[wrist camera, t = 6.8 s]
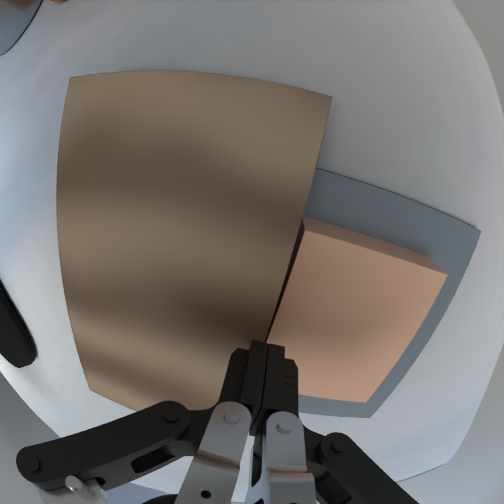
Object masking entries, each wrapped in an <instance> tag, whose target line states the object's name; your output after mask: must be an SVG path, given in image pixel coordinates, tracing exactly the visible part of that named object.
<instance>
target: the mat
mask: <svg viewBox="0 0 504 504" xmlns="http://www.w3.org/2000/svg"><path fill="white" fill-rule="evenodd" d="M303 216H306V217H309V218H312V219H316V220H319V221H323V222H326V223H329V224H333V225H336V226H339V227H342V228H346V229H349V230H352V231H355V232H358V233H361V234H365V235H368V236H371V237H374V238H377V239H380V240H383V241H386V242H389V243H392V244H395V245H398V246H401V247H403V248H406V249H409V250H412V251H415V252H418V253H420V254H423V255H426V256H428V257H429V258H430V259H431V260H433V261H434V262H435V263H436V264H437V265H438V266H439V267H440V268H441V269H442V270H443V271H444V272H445V273H446V274H447V277H446V280H445V282H444V284H443V286H442V288H441V290H440V292H439V293H438V295H437V297H436V299H435V301H434V303H433V305H432V307H431V308H430V310H429V312H428V314H427V315H426V317H425V319H424V321H423V322H422V324H421V326H420V327H419V329H418V331H417V332H416V334H415V335H414V337H413V339H412V340H411V342H410V343H409V345H408V346H407V348H406V349H405V351H404V352H403V354H402V355H401V357H400V358H399V360H398V361H397V362H396V364H395V365H394V367H393V368H392V369H391V371H390V372H389V374H388V375H387V376H386V378H385V379H384V380H383V382H382V383H381V384H380V385H379V387H378V388H377V389H376V390H375V392H374V393H373V394H372V395H371V397H370V398H369V399H368V400H367V401H366V403H364V402H353V401H343V400H335V399H327V398H319V397H313V396H306V395H300V394H298V412H301V413H309V414H318V415H328V416H340V417H357V418H370V417H371V416H372V415H373V414H374V413H375V412H376V411H377V410H378V408H379V407H380V406H381V405H382V404H383V402H384V401H385V400H386V399H387V398H388V396H389V395H390V394H391V393H392V391H393V390H394V389H395V388H396V386H397V385H398V384H399V382H400V381H401V380H402V378H403V377H404V376H405V374H406V373H407V372H408V370H409V369H410V367H411V366H412V365H413V363H414V362H415V360H416V359H417V357H418V356H419V354H420V353H421V351H422V350H423V348H424V347H425V345H426V344H427V342H428V341H429V339H430V337H431V336H432V334H433V332H434V331H435V329H436V327H437V326H438V324H439V322H440V320H441V319H442V317H443V315H444V313H445V312H446V310H447V308H448V306H449V304H450V302H451V300H452V298H453V296H454V294H455V292H456V290H457V288H458V286H459V284H460V282H461V280H462V278H463V275H464V273H465V271H466V269H467V266H468V264H469V262H470V259H471V257H472V254H473V252H474V249H475V247H476V244H477V242H478V239H479V236H480V233H481V231H480V230H479V229H477V228H475V227H473V226H471V225H469V224H467V223H465V222H462V221H460V220H458V219H456V218H454V217H451V216H449V215H447V214H445V213H442V212H440V211H438V210H435V209H433V208H431V207H428V206H426V205H423V204H421V203H418V202H416V201H413V200H411V199H408V198H405V197H403V196H400V195H397V194H395V193H392V192H389V191H386V190H384V189H381V188H378V187H375V186H372V185H369V184H366V183H363V182H360V181H357V180H354V179H351V178H347V177H344V176H341V175H338V174H334V173H331V172H327V171H324V170H320V169H317V168H315V171H314V175H313V179H312V183H311V186H310V190H309V194H308V198H307V202H306V205H305V209H304V213H303Z"/></svg>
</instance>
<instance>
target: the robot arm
mask: <svg viewBox="0 0 504 504" xmlns="http://www.w3.org/2000/svg"><path fill="white" fill-rule="evenodd" d="M40 2H41V0H0V55H2V54H4V53H5V52H6V51H7V50H8V49H10V48H11V47H12V45H13V44H14V43H15V42H16V41H17V39H18V38H19V37H20V35H21V34H22V33H23V31H24V30H25V28H26V27H27V25H28V24H29V22H30V20H31V19H32V17H33V16H34V14H35V12H36V10H37V8H38V6H39V5H40ZM249 430H250V431H249ZM248 432H249V435H250V436H255V440H254V445H253V447H252V449H251V454H250V470H249V486H248V491H247V494H246V498H245V504H316V500H317V501H318V502H319V503H320V504H419V503H417V501H415V500H414V499H413V498H412V497H411V496H410V495H409V494H408V493H406V492H405V491H404V490H403V489H402V488H401V487H400V486H399V485H398V484H397V483H396V482H394V481H393V480H392V479H391V478H390V477H389V476H388V475H387V474H386V473H385V472H384V471H383V470H382V469H381V468H380V467H379V466H378V465H377V464H376V463H375V462H374V461H373V460H372V459H370V458H369V457H368V456H367V455H366V454H365V453H364V452H363V451H362V450H361V449H360V448H359V447H358V446H357V445H356V444H355V442H354V441H353V440H352V439H351V438H349V437H348V436H347V435H345V434H343V433H338V432H334V433H330V434H328V435H326V436H324V435H321V434H318V433H316V432H313V431H311V430H309V429H308V428H306V427H305V426H304V425H303V424H302V422H301V420H300V419H299V414H298V367H297V365H296V363H295V361H294V360H293V359H288V358H285V346H280V345H276V344H271V343H269V344H268V343H266V342H262V341H257V340H253V339H252V340H251V344H250V347H249V350H246V349H242V348H237V349H236V350H235V351H234V352H233V353H232V354H231V356H230V360H229V364H228V367H227V371H226V375H225V378H224V382H223V386H222V390H221V393H220V397H219V400H218V402H217V403H216V404H215V405H214V406H213V407H211V408H208V409H205V410H188V409H187V408H186V407H185V406H184V405H182V404H181V403H179V402H176V401H170V400H167V401H162V402H159V403H157V404H154V405H152V406H150V407H147V408H145V409H142V410H140V411H137V412H135V413H132V414H130V415H127V416H125V417H122V418H119V419H117V420H114V421H111V422H109V423H106V424H103V425H100V426H97V427H94V428H91V429H88V430H85V431H82V432H79V433H76V434H73V435H69V436H66V437H63V438H59V439H56V440H52V441H48V442H44V443H41V444H36V445H32V446H28V447H24V448H23V449H21V450H20V451H19V453H18V455H17V458H16V464H17V467H18V470H19V472H20V473H21V475H22V476H23V477H24V478H25V479H27V480H28V481H30V482H32V484H33V485H34V486H35V487H36V488H37V489H38V491H39V494H40V496H41V498H42V500H43V502H44V504H107V502H108V497H107V493H106V491H107V490H109V489H112V488H115V487H118V486H120V485H123V484H125V483H128V482H130V481H133V480H135V479H137V478H140V477H142V476H144V475H147V474H149V473H151V472H153V471H155V470H157V469H160V468H162V467H164V466H166V465H168V464H170V463H172V462H174V461H176V460H178V459H180V458H181V457H183V456H194V458H193V460H192V462H191V464H190V467H189V469H188V472H187V474H186V477H185V479H184V481H183V484H182V486H181V489H180V491H179V493H178V494H170V495H163V496H159V497H156V498H153V499H151V500H148V501H147V502H144V503H142V504H230V502H231V499H232V495H233V492H234V489H235V485H236V482H237V478H238V475H239V470H240V461H241V458H242V454H243V450H244V447H245V443H246V439H247V435H248Z"/></svg>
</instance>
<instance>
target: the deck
mask: <svg viewBox="0 0 504 504" xmlns="http://www.w3.org/2000/svg"><path fill="white" fill-rule="evenodd" d="M331 100H332V97H331V96H328V95H324V94H321V93H317V92H313V91H309V90H305V89H301V88H297V87H293V86H288V85H284V84H279V83H274V82H269V81H263V80H258V79H252V78H245V77H238V76H231V75H222V74H212V73H201V72H185V71H127V72H112V73H101V74H91V75H83V76H76V77H70V81H69V85H68V90H67V95H66V100H65V105H64V111H63V117H62V124H61V132H60V141H59V151H58V164H57V192H56V205H57V232H58V246H59V257H60V266H61V274H62V281H63V287H64V293H65V299H66V305H67V310H68V315H69V319H70V324H71V328H72V332H73V336H74V340H75V344H76V348H77V351H78V355H79V358H80V362H81V365H82V368H83V371H84V375H85V378H86V381H87V383H88V386H89V389H90V390H91V391H93V392H95V393H97V394H99V395H101V396H103V397H105V398H107V399H109V400H112V401H114V402H116V403H118V404H120V405H123V406H125V407H127V408H130V409H132V410H135V411H140V410H142V409H145V408H147V407H150V406H152V405H154V404H157V403H159V402H162V401H167V400H170V401H176V402H179V403H181V404H182V405H184V406H185V407H186V408H187V409H188V410H205V409H208V408H211V407H213V406H214V405H215V404H216V403H217V402H218V400H219V397H220V393H221V390H222V386H223V382H224V378H225V375H226V371H227V367H228V364H229V360H230V356H231V354H232V353H233V352H234V351H235V350H236V349H237V348H242V349H246V350H249V347H250V344H251V340H252V339H253V340H257V341H262V342H265V339H266V336H267V333H268V330H269V327H270V324H271V320H272V317H273V314H274V311H275V308H276V305H277V301H278V298H279V295H280V292H281V289H282V285H283V282H284V279H285V275H286V272H287V269H288V265H289V262H290V259H291V255H292V252H293V248H294V245H295V241H296V238H297V234H298V231H299V227H300V223H301V220H302V216H303V213H304V209H305V205H306V202H307V198H308V194H309V190H310V186H311V183H312V179H313V175H314V171H315V167H316V163H317V159H318V155H319V151H320V147H321V143H322V139H323V134H324V130H325V126H326V122H327V117H328V113H329V109H330V104H331Z"/></svg>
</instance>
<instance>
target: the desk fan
mask: <svg viewBox="0 0 504 504" xmlns="http://www.w3.org/2000/svg"><path fill="white" fill-rule="evenodd" d="M0 353H1V355H2V356H3V357H4V358H5V359H6V360H7V361H8V362H10V363H11V364H12V365H14V366H15V367H17V368H21V367H24V366H27V365H30V364H32V363H33V361H34V360H35V352H34V349H33V346H32V343H31V341H30V339H29V337H28V334H27V333H26V331H25V329H24V327H23V325H22V323H21V321H20V320H19V318H18V316H17V314H16V313H15V311H14V309H13V308H12V306H11V305H10V303H9V301H8V299H7V298H6V296H5V294H4V292H3V291H2V289H1V287H0Z"/></svg>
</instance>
